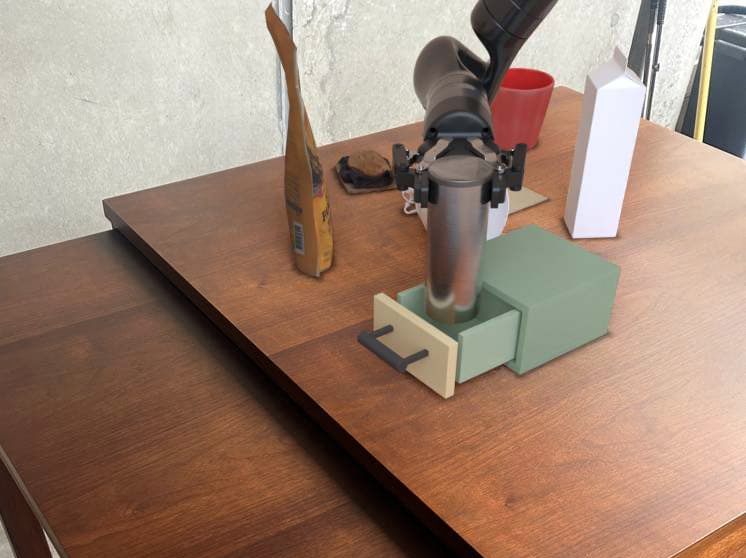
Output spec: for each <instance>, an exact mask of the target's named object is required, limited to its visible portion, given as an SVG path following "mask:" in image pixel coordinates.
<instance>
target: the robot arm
mask: <svg viewBox="0 0 746 558" xmlns="http://www.w3.org/2000/svg"><path fill="white" fill-rule="evenodd" d="M559 1H560V0H477V1H476V3H475V5H474V6H473V8H472V10H471V12H470V15H469V17H470V18H469V22H470V27H471V29H472V31H473V33H474V35H475V36H476V38H477V39H478V41H479V42H480V43H481V44H482V46H483V47H484V49H485V50H486V52H487V54H488V56H489V58H488V60H487V61H485V60H483V59H482V58H481V57H480V56H479V55H477V54H476V53H475V52H474V51H472V50H471V49H470V48H468V47H467V46H466V45H465V44H464V43H462V42H461V41H460V40H459V39H457V38H455V37H454V36H451V35H439V36H436V37H434V38H431V40H429V41H428V42H427V43H426V44H425V45H424V46H423V48H422V49H421V50H420V52H419V54H418V56H417V58H416V61H415V64H414V68H413V72H412V85H413V89H414V93H415V95H416V97H417V99H418V101H419V103H420V104H421V106H422V108H423V110H424V111H425V114H424V117H423V126H422V135H421V136H422V143H421V144H420V145H419V146H418V148H417V149H416V150H415V149H414V150H410V148H408V147H405V145H404V144H403V143H399V142H397V143H393V144H392V145H391V173H392V174H393V176H394V180H395V185H396V188H395V189H396V190H397V191H398V192H402V191H406V190H408V189H409V187H410V188H413V189H414V200H413V202H415V203H421V208H428V188H429V177H428V166H429V165H430V163H431V162H433V161H434V160H436V159H439V158H442V157H446V156H454V155H467V156H475V157H479V158H482V159H485V160H487V161H488V162H490V163H491V164H492V165H493V168H494V172H493V177H492V182H491V193H490V208H491V209H498V205H499V203H504V202H505V199H506V189H507V188H509V190H511V191H520V190H521V189H522V186H523V183H524V177H525V173H526V172H525V171H526V165H527V164H526V163H527V154H528V149H527V147H528V145H527V144H525V143H518V144H516V145H515V148H511V149H510V151H508V150H502V149H501V148H500V146H499V145H498V144H496V143H495V139H494V129H493V120H492V114H491V110H490V109H491V107H492V105H493V103H494V101H495V99H496V96H497V94H498V92H499V89H500V87H501V85H502V82H503V80H504V78H505V76H506V74H507V72H508V70H509V68H511V66H512V64H513V62H514V60H515V59H516V57H517V56H518V54H519V52H520V51H521V49H522V48H523V47H524V45H525V44H526V42H528V40H529V39H530V37H532V35H533V34H534V33H535V32H536V30H537V29H538V27H539V26H540V25H541V24H542V23H543V22H544V21H545V19H546V17H548V15H549V14H550V12H552V10H553V9H554V8H555V6H556V5H557V3H558V2H559ZM414 164H416V165H415V166H414V168H413V165H414ZM415 203H414V204H415Z"/></svg>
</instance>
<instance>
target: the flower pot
mask: <svg viewBox="0 0 746 558" xmlns="http://www.w3.org/2000/svg"><path fill="white" fill-rule="evenodd" d="M555 83H556V81H555V78H554V77H553V76H552V75H551V74H549V73H548V72H545V71H543V70H539V69H534V68H528V67H527V68H525V67H510V68H509V70H508V72H507V74H506V76H505V78H504V80H503V82H502V85H501V87H500V89H499V92H498V94H497V96H496V99H495V101H494V103H493V105H492V107H491V109H490V110H491V114H492V120H493V129H494V139H495V143H496V144H498V145H499V146H500V148H501V150H508V151H510V149H511V148H515V145H516V144H518V143H525V144H527V145H528V147H527V150H530V149H532V148H533V147H536V145H537V143H538V139H539V136H540V134H541V130H542V127H543V124H544V121H545V119H546V115H547V112H548V108H549V105H550V101H551V98H552V94H553V92H554V88H555V85H556V84H555Z"/></svg>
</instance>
